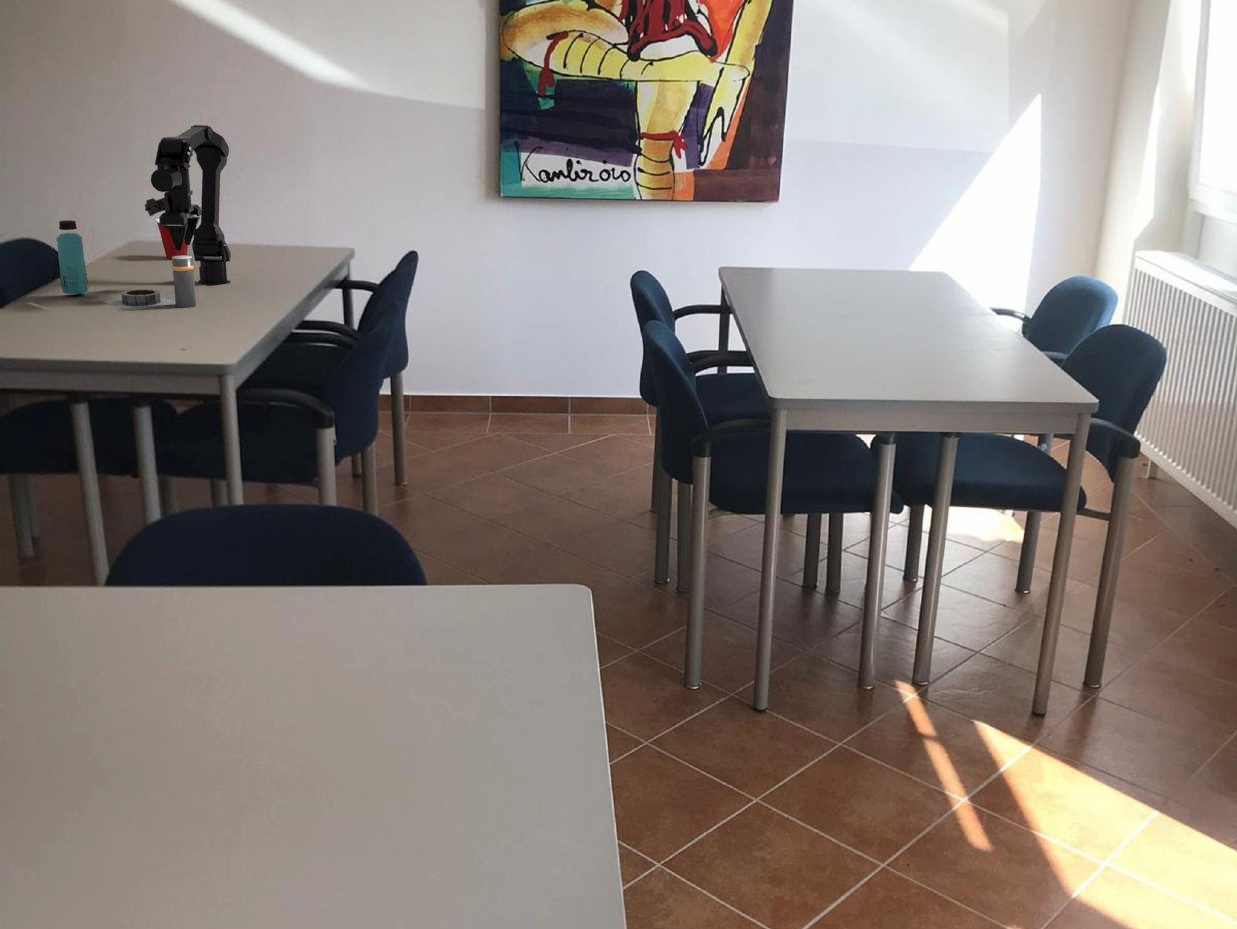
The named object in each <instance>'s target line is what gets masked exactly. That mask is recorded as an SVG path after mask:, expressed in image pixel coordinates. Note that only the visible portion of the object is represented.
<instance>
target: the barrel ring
mask: <svg viewBox="0 0 1237 929" xmlns="http://www.w3.org/2000/svg"><path fill="white" fill-rule="evenodd" d="M160 297H161V291H160V290H158V289H150V288H149V289H148V288H141V289H139V288H138V289H137V288H136V289H135V288H134V289H130V290H129V289H128V290H125V291H122V292H121V299H122V304H125V305H130V306H146V305H154V304H158V303H160V302H161V300H160Z"/></svg>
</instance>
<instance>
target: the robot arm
mask: <svg viewBox="0 0 1237 929" xmlns="http://www.w3.org/2000/svg"><path fill="white" fill-rule="evenodd" d="M194 154H195V155H196V157H195V158H196V162H197V163H198V165H199V167H200V169H201V171H202V174H201V175H202V176H201V200H200V201H201V206H199V205H198V204H194V203H193V204H192V195H193V190H192V189H191V181H190V170H189V169H190V168H191V164H190V162H191V158H192V156H194ZM229 155H230V147H229V145H228V143H227V141H226V140H225V138H224V137H223V136H222V135H221V134H219V133H217V132H216V131H214V129H213V128H212V126H209V125H203V124H202V125H201V124H194V125H191V126H190V128H189V129H187V130H185V131H184V132H182V133H180V134H179V135H177V136H163V137H162V138H161V139H160V141H159V143H158V147H157V152H156V155H155V160H154V165H155V167H156V166H157V168H156V169H155V170H154V171H153V172H152V173H151V176H150V183H151V185H152V187H153V188H154V189H155V190H156V191H158V192H159V193H164V194H163V196H164V197H161V198H159V199H155V198H154V197H153V198H150V199H146V203H145V204H144V207H145V208H144V210H145V212H147V213H148V215H149V217H152V216H155V215H156V214H158V213H161V212H162V214H161V215H159V217H158V218H159V221H160V224H161V225H162V227H165V228H166V229H167V230H168V231H169V232H170V234H171V237H172V239H173V242H174V245H175V248H176V250H177V251H181V249H182V245H183V242H184V240H185V244H186V245H188V246H190V245H191V248H192V251H193V256H194V261H195V262H199V267H198V270H199V271H198V272H199V280H198V281H197V282H198V283H201V284H205V285H208V286H214V285H223V284H229V283H231V280H230V279H228V273H227V271H228V270H227V263H228V262H231V257H232V256H231V255H232V254H231V250H230V249H229V246H228V244H227V243H226V241H225V238H226V237H225V234H224V232H223V231H222V229H221V227H220V224H219V222H220V199H221V198H220V196H221V195H220V194H221V191H220V190H221V173H222V171H223V170H224V168H225V167H226V166H227V163H228V157H229ZM163 211H164V212H163ZM199 220H200V223H199ZM198 223H199V226H197V225H198Z"/></svg>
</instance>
